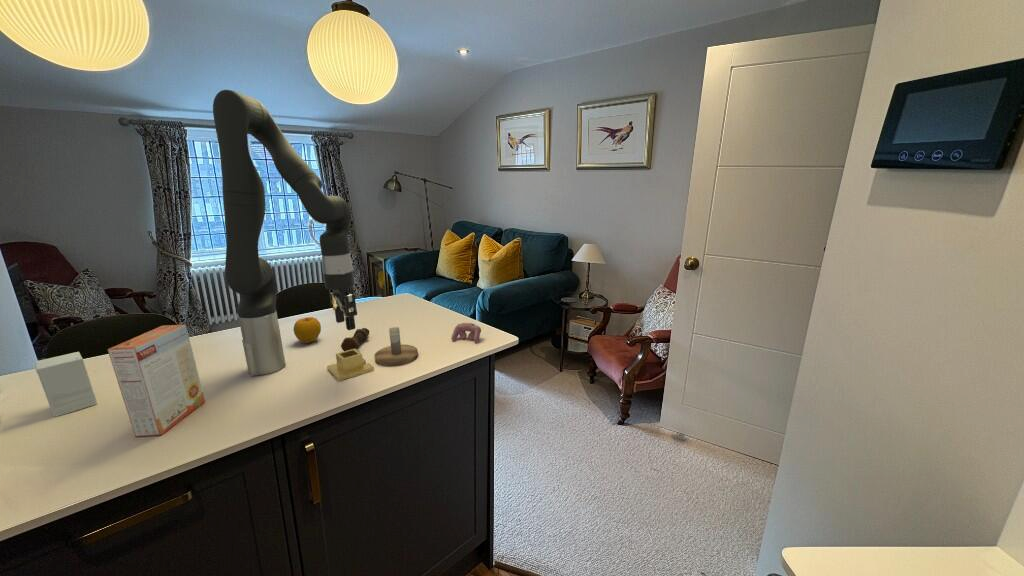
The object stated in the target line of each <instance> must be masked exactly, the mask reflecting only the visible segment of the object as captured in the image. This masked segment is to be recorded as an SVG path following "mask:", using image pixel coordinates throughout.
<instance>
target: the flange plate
mask: <svg viewBox="0 0 1024 576" xmlns="http://www.w3.org/2000/svg"><path fill="white" fill-rule="evenodd" d="M335 359H336V363H334V364H330V365H326V368H327V369H326V370H328V371H329V372H330V373H331V375H332V376H333V377H334V378H335V379H336V380H337V381H338V382H341V381H344V380H347V379H351V378H353V377H356V376H360V375H363V374H366V373H369V372H372V371H375V367H374V366H373V365H372V364H371V363H370V362H368V363H367V360H366V359H365V358H363V353H361V352H360V351H359V350H356V349H351V350H348V351H341V352H338V353H337V352H336V353H335Z"/></svg>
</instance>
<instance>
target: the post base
mask: <svg viewBox="0 0 1024 576" xmlns="http://www.w3.org/2000/svg"><path fill="white" fill-rule="evenodd" d="M388 331H389V332H388V333H389V340H390V341H389V342H390V345H389V346H385V347H383V348H381V349H378V350H377V351H376V352H375V354H374V361H375V363H376V364H378V365H380V366H385V367H398V366H402V365H403V366H404V365H406V364H409V363H412V362H414V361H415V360H416V359H417V358H418V357H419V353H418V352H419V351H418V348H417V347H416V346H414V345H412V344H411V345H410V344H402V343H401V334H400V333H401V332H400V327H398V326H393V327H390V328H389V329H388Z"/></svg>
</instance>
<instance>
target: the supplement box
mask: <svg viewBox="0 0 1024 576" xmlns="http://www.w3.org/2000/svg"><path fill="white" fill-rule="evenodd" d="M84 361H85V360H84V358H83V357H82V355H81V353H80V351H77V352H76V351H75V352H71V353H67V354H62V355H59V356H58V355H57V356H53V357H49V358H44V359H41V360H40V359H39V360H36V361H35V362H36V364H35V372H36V373H37V376H38V378H39V381H40V383H41V386H42V389H43V391H44V394H45V397H46V400H47V402H48V405H49V408H50V410H51V413H52V415H53V417H54V418H57V417H60V416H63V415H65V414H69V413H72V412H75V411H79V410H82V409H85V408H89V407H92V406H96V405H97V404H98V402H97V398H96V394H95V392H94V389H93V386H92V383H91V379H90V375H89V374H88V370H87V368H86V364H85V362H84Z"/></svg>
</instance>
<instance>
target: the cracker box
mask: <svg viewBox="0 0 1024 576" xmlns="http://www.w3.org/2000/svg"><path fill="white" fill-rule="evenodd" d="M107 352H108V355H109V356H108V357H109V359H110V362H111V365H112V368H113V371H114V374H115V378H116V381H117V383H118V388H119V390H120V394H121V396H122V399H123V404H124V406H125V409H126V413H127V415H128V418H129V422H130V425H131V427H132V430H133V434H134V437H135V438H136V437H138V438H139V437H152V436H162V435H164V434H165V433H166V432H168V431H169V430H171V429H172V428H173V427H174V426H175V425H177V424H178V423H179V422H180V421H182V420H183V419H185V418H186V417H187V416H188V415H190V414H191V413H192V412H194V411H195V410H196V409H197V408H199V407H201V405H203V404H204V403H205V402H206V399H205V398H206V397H205V394H204V391H203V387H202V383H201V378H200V376H199V370H198V367H197V363H196V360H195V355H194V352H193V347H192V343H191V340H190V335H189V332H188V328H187V325H186V324H174V325H173V324H166V325H160V326H158V327H155V328H154V329H152V330H149V331H147V332H144V333H142V334H140V335H138V336H135V337H132V338H131V339H129V340H125V341H124V342H121V343H119V344H117V345H115V346H112V347H109V348H107Z"/></svg>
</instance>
